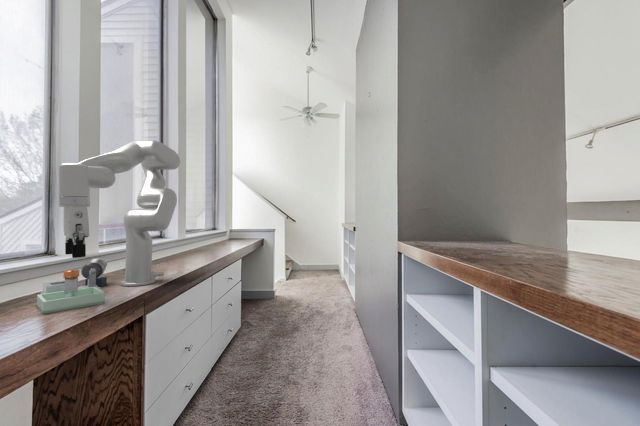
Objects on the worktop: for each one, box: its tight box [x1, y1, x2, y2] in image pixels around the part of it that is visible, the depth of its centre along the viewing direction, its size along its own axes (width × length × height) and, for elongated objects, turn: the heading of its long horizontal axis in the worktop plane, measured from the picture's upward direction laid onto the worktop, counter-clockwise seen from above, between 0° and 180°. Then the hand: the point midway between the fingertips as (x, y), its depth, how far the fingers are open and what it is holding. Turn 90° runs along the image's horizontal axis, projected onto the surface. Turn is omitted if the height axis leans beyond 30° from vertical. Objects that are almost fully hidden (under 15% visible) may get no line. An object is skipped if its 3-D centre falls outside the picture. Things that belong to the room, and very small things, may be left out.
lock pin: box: [62, 268, 80, 298], centre depth 92 cm, size 4×4×10 cm
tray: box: [36, 287, 106, 315], centre depth 92 cm, size 15×12×4 cm
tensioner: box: [40, 262, 103, 294], centre depth 103 cm, size 16×9×11 cm, turn 141°
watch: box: [84, 258, 108, 288], centre depth 117 cm, size 6×8×11 cm
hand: (75, 255), depth 93 cm, fingers open, 9 cm apart
